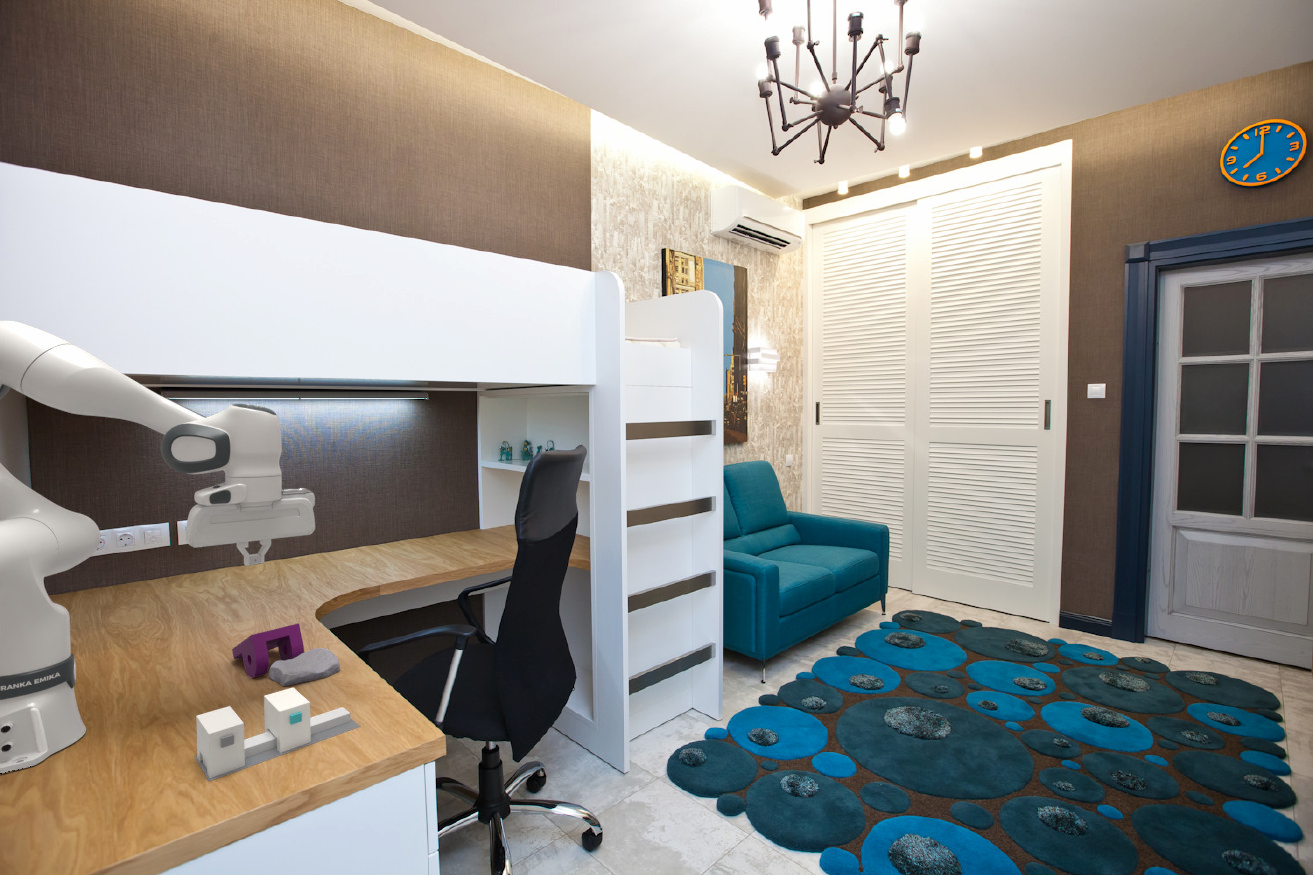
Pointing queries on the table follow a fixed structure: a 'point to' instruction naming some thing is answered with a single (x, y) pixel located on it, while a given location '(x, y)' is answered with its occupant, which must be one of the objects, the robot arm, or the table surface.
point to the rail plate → (266, 748)
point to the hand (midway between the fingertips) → (254, 564)
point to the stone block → (305, 667)
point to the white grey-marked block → (220, 741)
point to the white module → (287, 718)
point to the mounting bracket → (269, 648)
